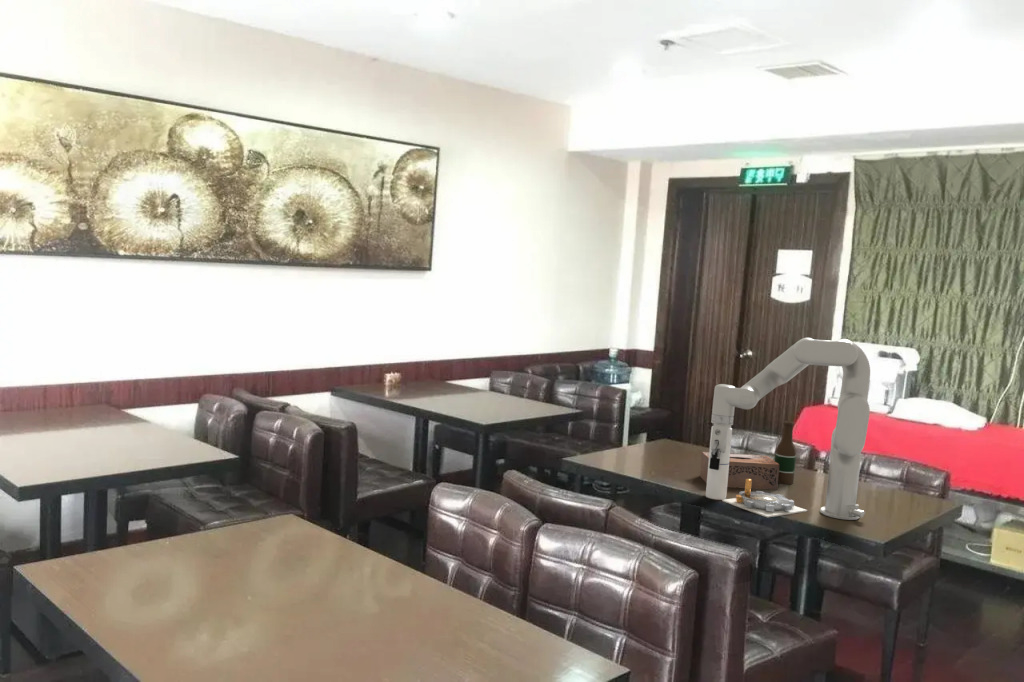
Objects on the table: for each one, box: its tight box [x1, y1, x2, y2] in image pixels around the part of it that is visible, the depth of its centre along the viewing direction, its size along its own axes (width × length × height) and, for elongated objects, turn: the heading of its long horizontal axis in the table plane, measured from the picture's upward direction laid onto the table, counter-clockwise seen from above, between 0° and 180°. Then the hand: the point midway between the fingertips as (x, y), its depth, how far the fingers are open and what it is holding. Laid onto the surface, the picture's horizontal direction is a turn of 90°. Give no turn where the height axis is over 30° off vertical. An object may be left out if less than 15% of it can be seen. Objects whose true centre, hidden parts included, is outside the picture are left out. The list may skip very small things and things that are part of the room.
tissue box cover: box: [699, 451, 779, 491], centre depth 316 cm, size 26×14×10 cm, turn 91°
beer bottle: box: [774, 420, 797, 485], centre depth 322 cm, size 8×8×24 cm
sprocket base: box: [722, 497, 808, 518], centre depth 285 cm, size 20×20×1 cm
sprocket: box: [735, 479, 795, 512], centre depth 284 cm, size 19×19×8 cm
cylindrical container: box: [705, 425, 733, 501], centre depth 292 cm, size 7×7×25 cm
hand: (717, 466), depth 293 cm, fingers open, 9 cm apart
